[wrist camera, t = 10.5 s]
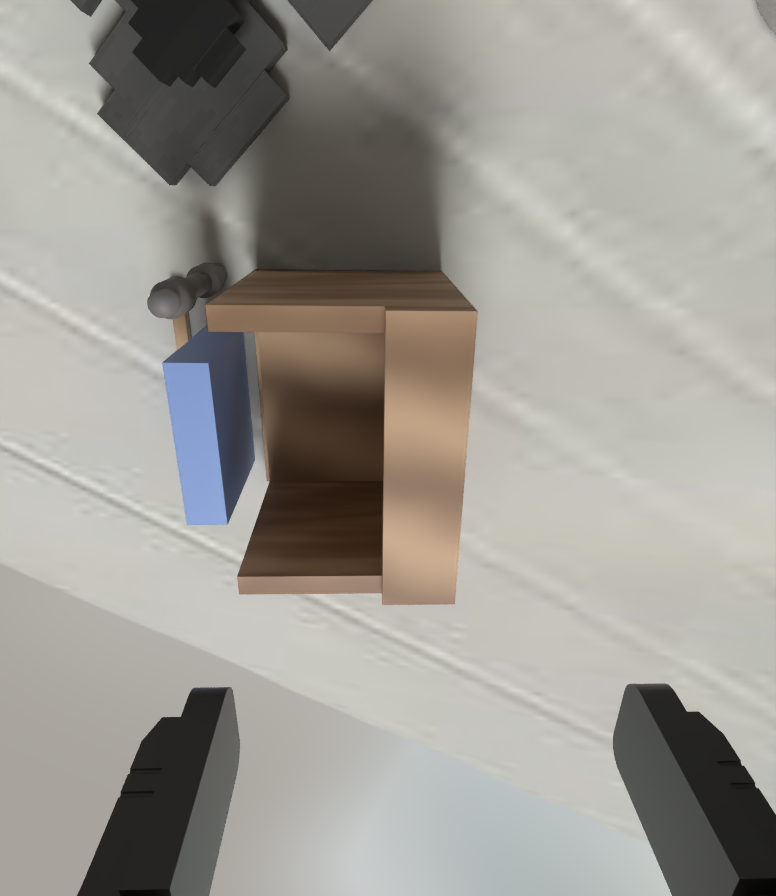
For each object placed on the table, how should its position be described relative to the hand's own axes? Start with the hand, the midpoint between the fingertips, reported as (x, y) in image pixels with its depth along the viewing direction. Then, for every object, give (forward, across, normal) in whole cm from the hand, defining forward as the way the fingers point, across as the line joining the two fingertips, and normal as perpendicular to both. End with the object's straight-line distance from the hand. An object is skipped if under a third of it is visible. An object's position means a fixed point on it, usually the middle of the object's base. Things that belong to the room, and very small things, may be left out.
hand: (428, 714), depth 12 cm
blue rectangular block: (+30, +11, +4) cm, 32 cm away
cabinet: (+30, +5, +3) cm, 31 cm away
